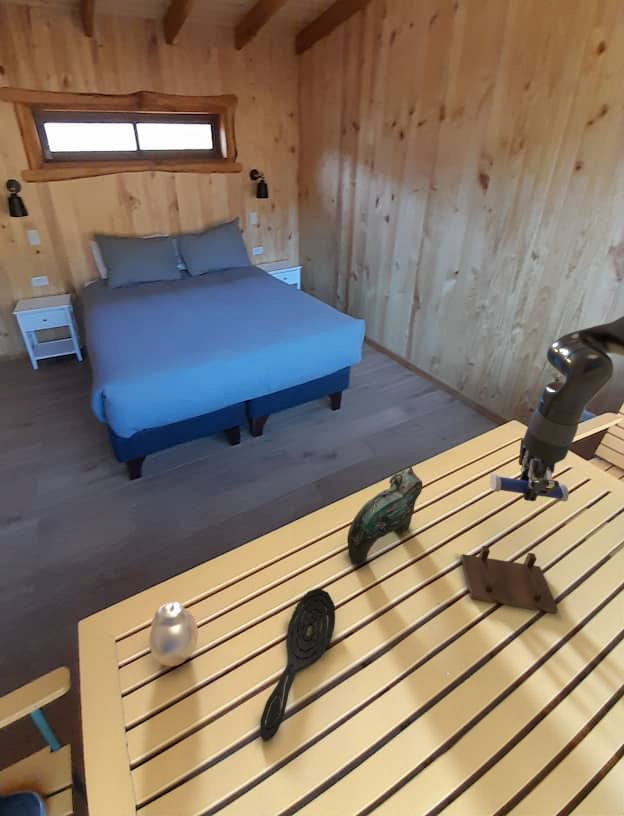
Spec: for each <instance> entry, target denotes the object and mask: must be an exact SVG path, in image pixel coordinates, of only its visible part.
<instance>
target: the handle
mask: <svg viewBox="0 0 624 816" xmlns="http://www.w3.org/2000/svg"><path fill="white" fill-rule="evenodd" d="M489 478H490V479H489V484H490V485H489V486H490V489H491V491H492V492H497V493H499V492H500V491H504V492H510V493H516V494H522V495H524V493H525V490H526V488H527V485H528V482H529V481H526V480H519V479H520V478H512V477H504V476H500V475H499V474H495V473H491V475H490V477H489ZM534 483H536V484H537V483H539V481H535V482H534ZM558 483H559V486H558V487H557V488H556V489H555V490H553V491H552V492H550V493H549V494H547V495H543V494H538V496H537V497H542V498H543V497H544V498H551V499H556V500H557V501H559V502H564V503H565V502H567V501H568V500H569V496H570V495H569V494H570V493H569V489H568V486H567V485H566V484H565V483H560V482H558Z"/></svg>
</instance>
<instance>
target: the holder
mask: <svg viewBox="0 0 624 816" xmlns="http://www.w3.org/2000/svg"><path fill="white" fill-rule="evenodd" d="M489 555H490V548H489V546H488V545H482V546H481V548H480V551H479V554H478V556H476V555H469V554H464V553H463V554H462V553H461V555H460V562H461V567H462V570H463V575H464V578H465V581H466V587H467V590H468V593H469V597H470V599H472V600H478V601H483V602H489V603H493V604H494V603H495V604H500V605H506V606H510V607H511V606H512V607H516V608H523V609H528V610H534V611H540V612H545V613H552V614H557V613H558V611H559V607H558V606H557V602H556V601H555V599H554V596H553V594H552V591H551V589H550V587H549V584H548V582H547V579H546V577H545V575H544V573H543V570H542V568H541V566H539V565H535V563H536V562H537V556H536V554H535V553H533V552H528V553H527V555H526V557H525V558H524V561H523V563H520V562H514V561H507V560H502V559H496V558H489Z"/></svg>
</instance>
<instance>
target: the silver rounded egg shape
mask: <svg viewBox="0 0 624 816" xmlns="http://www.w3.org/2000/svg"><path fill="white" fill-rule="evenodd" d="M198 636H199V628H198V622H197V619H196V618H195V616H194V615H193V613H192V612H191V611H190V610H188V609H186V608H185V607H184V605H183V604H182V603H181V602H179V601H171V602H168V603H164V604H162V605H161V606H160V607H158V609H157V610H156V612H155V613H154V617H153V618H152V620H151V623H150V631H149V636H148V641H149V642H148V644H149V650H150V653H151V655H152V657H153V658H154V659H155V661H157V662H158V663H159V664H160V665H163V666H165V667H176V666H179V665H181V664H182V663H184V662H185V661H187V660H188V659H189V658H190V656H191V655H192V654H193V652H194V650H195V648H196V647H197V643H198V639H199V637H198Z"/></svg>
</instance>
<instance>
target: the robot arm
mask: <svg viewBox="0 0 624 816" xmlns="http://www.w3.org/2000/svg"><path fill="white" fill-rule="evenodd" d="M609 354H615V355H619V356H622V357H624V315H623V316H620V317H618V318H617V319H615V320H613V321H611V322H606V323H603V324H598V325H594V326H591V327H587V328H583V329H579V330H575V331H572V332H570V333H566V334H564V335H562V336H561V337H558V338H557V339H556V340H555V341H554V342H552V344H550V346H549V348H548V350H547V352H546V359H547V361H548V363H550V365H551V366H552V367H553V368H554V369H555V370H556V371H558V372H559V373H560V374H562V376H563V377H565V381H551V382H549V383H547V384H546V385H545V386H544V388H543V390H542V392H541V395H540V396H539V397H540V398H539V400H538V403H537V405H536V408H535V410H534V411H533V413H532V415H531V418H530V420H529V423H528V426H527V428H526V431H525V434H524V436H523V438H521V440H520V447H519V457H518V465H519V466H521V467H520V473H521V474H520V477H519V478H518V479H519V480H526V481H529V482H528V485H527V488H526V490H525V493H524V494H522V495H523V496H522V498H523V499H524V501H527V502H528V501H529V502H535V501H537V498H538V497H539V496H538V494H543V495H547V494H549V493H550V492H552V491H553V490H555V489H556V488H557V487H558V486H559V483H560V482H559V481H558V480H554V477H553V473H554V472H555V467H556V464H557V463H559V462H561V461H562V462H563V460H565V459H566V458H567V456H568V453H569V451H570V448H571V447H572V444H573V441H574V439H575V437H576V435H577V433H578V429H579V424H580V422H581V419H582V417H583V415H584V412H585V410H586V407H587V405H589V403H590V402H592V400H593V399H594V398H595V397H596V396H598V394H599V393H600V392H601V391H602V390H603V389H604V388H605V387H606V386H607V385H608V383H609V382H610V381H611V379H612V378H613V375H614V369H615V368H614V362H613V360H612V358H611V357H610V356H609ZM534 482H539V483H537V484H536V483H534Z"/></svg>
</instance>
